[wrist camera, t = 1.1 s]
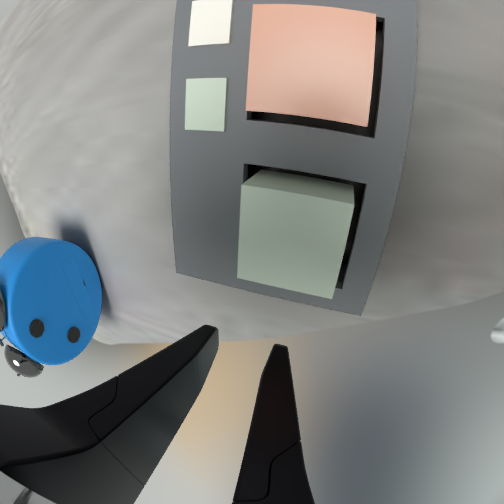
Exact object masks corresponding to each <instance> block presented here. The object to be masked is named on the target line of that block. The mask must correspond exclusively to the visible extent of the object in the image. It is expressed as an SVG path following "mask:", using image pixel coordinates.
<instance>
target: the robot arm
mask: <svg viewBox="0 0 504 504" xmlns="http://www.w3.org/2000/svg"><path fill="white" fill-rule="evenodd" d="M218 346H219V339H218V329H217V328H216V327H213V326H210V325H203V326H202V327H200V328H198V329H197V330H195V331H193V332H192V333H190V334H188V335H187V336H185V337H183V338H182V339H180V340H178V341H177V342H175V343H173V344H172V345H170V346H168V347H166V348H165V349H163V350H161V351H160V352H158V353H156V354H154V355H153V356H151V357H149V358H147V359H146V360H144V361H142V362H140V363H139V364H137V365H135V366H133V367H132V368H130V369H128V370H126V371H124V372H123V373H121V374H119V375H118V376H115V377H114V378H112V379H110V380H108V381H106V382H104V383H102V384H100V385H98V386H96V387H94V388H92V389H90V390H88V391H86V392H83V393H81V394H78V395H76V396H74V397H71V398H68V399H66V400H63V401H60V402H58V403H55V404H53V405H50V406H47V407H42V408H23V407H14V406H7V405H0V504H134V502H135V501H136V499H137V497H138V496H139V494H140V492H141V491H142V489H143V488H144V485H145V484H146V483H147V481H148V479H149V478H150V476H151V474H152V473H153V471H154V469H155V468H156V466H157V465H158V463H159V461H160V459H161V458H162V456H163V455H164V453H165V451H166V450H167V448H168V446H169V445H170V443H171V441H172V440H173V438H174V436H175V434H176V433H177V431H178V429H179V428H180V426H181V424H182V423H183V421H184V419H185V418H186V416H187V414H188V412H189V411H190V409H191V407H192V405H193V404H194V402H195V400H196V398H197V397H198V395H199V393H200V391H201V389H202V387H203V385H204V383H205V380H206V378H207V375H208V373H209V370H210V368H211V366H212V363H213V361H214V358H215V356H216V353H217V350H218ZM300 440H301V437H300V430H299V422H298V415H297V408H296V401H295V394H294V387H293V380H292V373H291V366H290V359H289V352H288V348H287V346H284V345H280V344H274V346H273V348H272V350H271V353H270V355H269V358H268V360H267V362H266V365H265V367H264V369H263V372H262V375H261V379H260V383H259V388H258V393H257V398H256V403H255V407H254V412H253V417H252V421H251V426H250V430H249V434H248V439H247V443H246V447H245V452H244V457H243V460H242V465H241V469H240V473H239V477H238V482H237V486H236V489H235V493H234V498H233V502H232V504H315V503H314V499H313V496H312V493H311V489H310V486H309V482H308V478H307V474H306V469H305V464H304V458H303V452H302V444H301V442H300Z"/></svg>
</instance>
